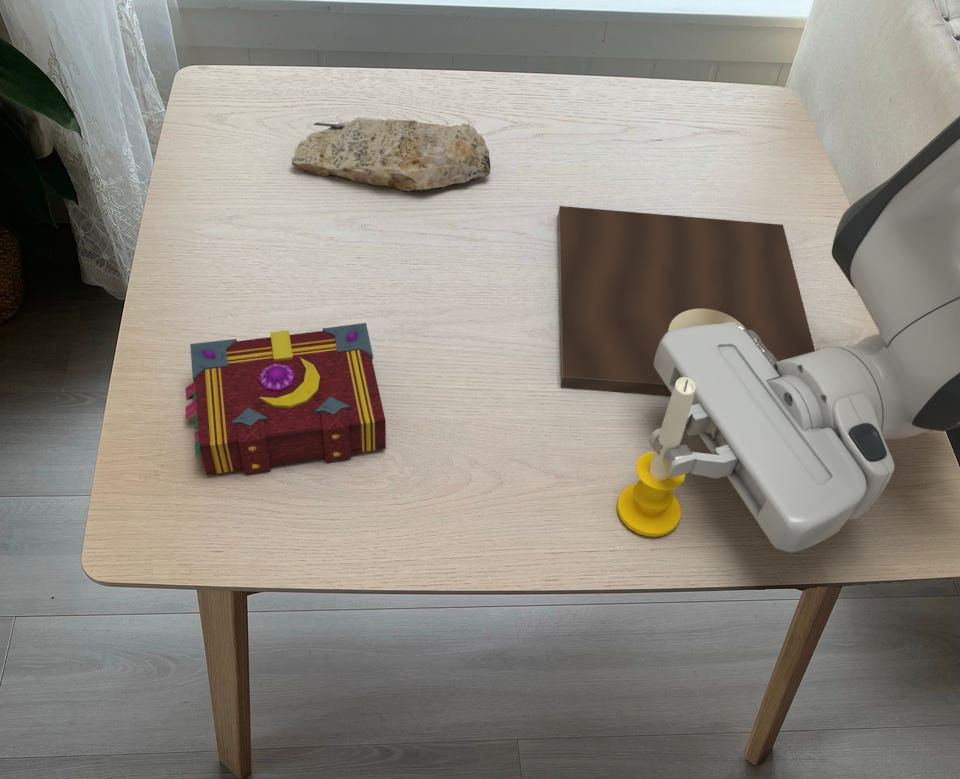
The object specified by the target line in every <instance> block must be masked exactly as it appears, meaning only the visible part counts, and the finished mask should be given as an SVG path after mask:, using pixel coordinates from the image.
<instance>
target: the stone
mask: <svg viewBox="0 0 960 779" xmlns="http://www.w3.org/2000/svg"><path fill="white" fill-rule="evenodd" d="M313 126H321V127H329V128H327V129H324V130H318V131H316V132H312V133H310V134H309V135H307V136H306V138H305V139H304V140H302V141H300V142H299V143H298V145H297V147H295V149H294V156H293V157H291V165H292V166H294V167H296V168H298V170H300V171H304V172H306V173H311V174H314V175H317V176H321V177H325V176H326V177H328V176H330V175H331V176H334V177H335V176H338V177H342V178H344V179H348V180H351V181H353V182H356V183H357V182H358V183H365V184H369V185H373V186H385V187H389V188H393V189H398V190H400V191H406V192H411V191H413V190H419V191H422V190H430V189H434V188H435V189H436V188H445V187H446V186H451V185H453V184H463V183H467V182H469V181H470V180H472V179H477V178H483V177H487V176H489V175H490V174H491V169H492V168H491V159H490V151H489V148H488V147H487V144H486V140H485V138H484V137H483V136H482V135H481V134H479V133H478V131H477V130H476V128H475V127H474V126H472V125H471V124H468V123H464V122H463V123H461V124H460V125H459V124H455V125H451V126H446V125H443V124H439V123H428V122H421V121H417V120H404V119H393V118H391V119H379V118H377V119H376V118H364V117H357V118H355V119H353V120H351V121H345V122H339V123H337V124H336V123H325V122H315V123H313Z"/></svg>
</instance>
